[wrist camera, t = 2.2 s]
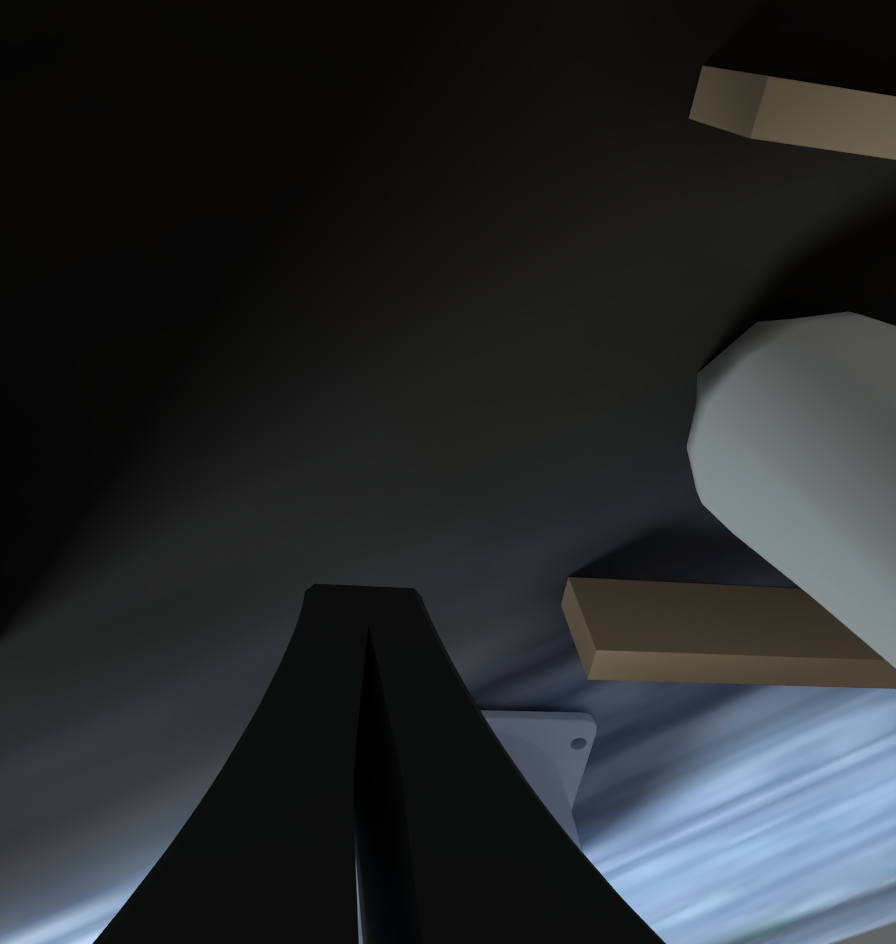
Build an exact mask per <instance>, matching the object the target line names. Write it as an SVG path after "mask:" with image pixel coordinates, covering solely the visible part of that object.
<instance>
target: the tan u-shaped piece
mask: <svg viewBox="0 0 896 944" xmlns="http://www.w3.org/2000/svg"><path fill="white" fill-rule="evenodd" d="M689 119H692V120H695V121H698V122H701V123H704V124H707V125H710V126H714V127H717V128H720V129H723V130H726V131H729V132H732V133H735V134H738V135H742V136H745V137H748V138H752V139H759V140H766V141H772V142H779V143H786V144H793V145H800V146H807V147H813V148H820V149H827V150H834V151H841V152H848V153H854V154H861V155H868V156H875V157H882V158H889V159H896V97H895V96H889V95H883V94H877V93H870V92H864V91H858V90H852V89H846V88H839V87H833V86H827V85H821V84H814V83H808V82H802V81H796V80H789V79H783V78H777V77H771V76H764V75H758V74H752V73H745V72H739V71H733V70H726V69H720V68H714V67H708V66H702V70H701V74H700V77H699V81H698V85H697V89H696V93H695V96H694V100H693V104H692V108H691V112H690V116H689ZM561 606H562V609H563V612H564V615H565V618H566V620H567V623H568V626H569V629H570V632H571V635H572V637H573V640H574V643H575V646H576V649H577V651H578V654H579V657H580V660H581V663H582V666H583V668H584V671H585V674H586V677H587V680H612V681H647V682H682V683H717V684H752V685H786V686H821V687H856V688H891V689H896V668H895V667H893V666H892V665H891V664H890V663H889V662H888V661H886V660H885V659H884V658H883V657H882V656H881V655H879V654H878V653H877V652H876V651H875V650H874V649H872V648H871V647H870V646H869V645H868V644H866V643H865V642H864V641H863V640H862V639H861V638H859V637H858V636H857V635H856V634H855V633H854V632H852V631H851V630H850V629H849V628H848V627H846V626H845V625H844V624H843V623H842V622H841V621H839V620H838V619H837V618H836V617H835V616H834V615H832V614H831V613H830V612H829V611H828V610H827V609H825V608H824V607H823V606H822V605H821V604H819V603H818V602H817V601H816V600H815V599H814V598H812V597H811V596H810V595H809V594H808V593H806V592H805V591H804V590H803V589H799V588H779V587H759V586H739V585H719V584H699V583H679V582H659V581H639V580H619V579H599V578H579V577H568V580H567V584H566V588H565V591H564V595H563V599H562V603H561Z"/></svg>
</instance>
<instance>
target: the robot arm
mask: <svg viewBox="0 0 896 944" xmlns="http://www.w3.org/2000/svg"><path fill="white" fill-rule="evenodd" d="M596 733H597V726H596V723H595V720H594V718H593V716H591V715H590V714H588V713H580V712H535V711H489V710H480V709H479V707H478V706H477V704H476V702H475V701H474V699H473V697H472V696H471V694H470V692H469V691H468V689H467V687H466V686H465V684H464V682H463V680H462V679H461V677H460V675H459V673H458V672H457V670H456V668H455V666H454V664H453V662H452V661H451V659H450V657H449V655H448V653H447V651H446V649H445V647H444V645H443V643H442V641H441V639H440V637H439V635H438V633H437V631H436V629H435V627H434V625H433V623H432V621H431V619H430V616H429V614H428V612H427V610H426V607H425V605H424V602H423V600H422V597H421V596H420V595H419V594H418V592H417V591H416V590H415V589H414V588H394V587H373V586H351V585H329V584H314V585H313V586H312V587H310V588H309V589H307V590H306V591H305V595H304V601H303V606H302V609H301V612H300V616H299V619H298V622H297V625H296V627H295V630H294V633H293V635H292V638H291V640H290V642H289V645H288V647H287V649H286V652H285V654H284V656H283V659H282V661H281V663H280V665H279V667H278V669H277V671H276V673H275V675H274V677H273V679H272V681H271V683H270V685H269V687H268V689H267V691H266V693H265V695H264V697H263V699H262V701H261V703H260V705H259V707H258V709H257V710H256V712H255V714H254V716H253V718H252V719H251V721H250V723H249V724H248V726H247V728H246V729H245V731H244V733H243V734H242V736H241V738H240V740H239V741H238V743H237V745H236V746H235V748H234V750H233V751H232V753H231V755H230V756H229V758H228V760H227V761H226V763H225V765H224V766H223V768H222V770H221V771H220V773H219V774H218V776H217V778H216V779H215V781H214V782H213V784H212V785H211V787H210V788H209V790H208V791H207V793H206V794H205V796H204V797H203V799H202V800H201V802H200V803H199V805H198V806H197V808H196V809H195V811H194V812H193V813H192V815H191V816H190V818H189V819H188V821H187V822H186V823H185V825H184V826H183V828H182V829H181V830H180V832H179V833H178V835H177V836H176V837H175V839H174V840H173V842H172V843H171V844H170V846H169V847H168V849H167V850H166V851H165V853H164V854H163V855H162V857H161V858H160V859H159V860H158V862H157V863H156V864H155V866H154V867H153V868H152V870H151V871H150V872H149V873H148V875H147V876H146V877H145V879H144V880H143V881H142V882H141V884H140V885H139V886H138V888H137V889H136V890H135V892H134V893H133V894H132V895H131V897H130V898H129V899H128V901H127V902H126V903H125V904H124V906H123V907H122V908H121V910H120V911H119V912H118V913H117V914H116V916H115V917H114V918H113V919H112V921H111V922H110V923H109V924H108V926H107V927H106V928H105V929H104V930H103V932H102V933H101V934H100V935H99V936H98V938H97V939H96V940H95V941H94V942H93V944H666V943H665V942H664V941H663V940H662V939H661V938H660V937H659V936H658V935H657V934H656V933H655V932H654V931H653V930H652V929H651V928H650V927H649V926H648V925H647V924H646V923H645V922H644V921H643V920H642V919H641V918H640V916H639V915H638V914H637V913H636V912H635V911H634V910H633V909H632V908H631V907H630V906H629V905H628V904H627V903H626V902H625V901H624V900H623V899H622V898H621V896H620V895H619V894H618V893H617V892H616V891H615V890H614V889H613V887H612V886H611V885H610V884H609V883H608V882H607V880H606V879H605V878H604V877H603V876H602V875H601V873H600V872H599V871H598V870H597V869H596V868H595V867H594V865H593V864H592V863H591V862H590V861H589V860H588V858H587V857H586V856H585V855H584V854H583V852H582V848H581V845H580V841H579V837H578V834H577V830H576V827H575V823H574V819H573V816H572V812H571V810H572V807H573V804H574V801H575V798H576V795H577V792H578V789H579V785H580V782H581V779H582V776H583V773H584V770H585V767H586V764H587V761H588V757H589V754H590V751H591V748H592V745H593V742H594V739H595V736H596ZM576 738H579V739H576ZM574 739H576V740H574Z"/></svg>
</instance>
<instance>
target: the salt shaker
mask: <svg viewBox="0 0 896 944" xmlns="http://www.w3.org/2000/svg"><path fill="white" fill-rule="evenodd" d="M687 451H688V455H689V460H690V464H691V469H692V473H693V478H694V482H695V487H696V491H697V493H698V495H699V498H700V500H701V502H702V504H703V505H704V506H705V507H706V508H707V509H708V510H709V511H710V512H711V513H712V514H713V515H714V516H715V517H717V518H718V519H719V520H720V521H721V522H722V523H723V524H724V525H725V526H726V527H727V528H728V529H729V530H730V531H731V532H732V533H733V534H734V535H736V536H737V537H738V538H739V539H741V540H742V541H743V542H744V543H745V544H747V545H748V546H749V547H750V548H752V549H753V550H754V551H755V552H757V553H758V554H759V555H760V556H762V557H763V558H764V559H765V560H767V561H768V562H769V563H770V564H772V565H773V566H774V567H775V568H777V569H778V570H779V571H780V572H782V573H783V574H784V575H785V576H787V577H788V578H789V579H790V580H792V581H793V582H794V583H795V584H796V585H798V586H799V587H800V588H801V589H803V590H804V591H805V592H806V593H808V594H809V595H810V596H811V597H812V598H814V599H815V600H816V601H817V602H818V603H819V604H821V605H822V606H823V607H824V608H825V609H827V610H828V611H829V612H830V613H831V614H832V615H834V616H835V617H836V618H837V619H838V620H839V621H841V622H842V623H843V624H844V625H845V626H846V627H848V628H849V629H850V630H851V631H852V632H854V633H855V634H856V635H857V636H858V637H859V638H861V639H862V640H863V641H864V642H865V643H866V644H868V645H869V646H870V647H871V648H872V649H874V650H875V651H876V652H877V653H878V654H879V655H881V656H882V657H883V658H884V659H885V660H886V661H888V662H889V663H890V664H891V665H892V666H893V667H895V668H896V326H894V325H891V324H888V323H885V322H882V321H879V320H876V319H872V318H869V317H866V316H863V315H859V314H856V313H852V312H841V313H834V314H826V315H819V316H811V317H803V318H796V319H786V320H774V321H761V322H756V323H755V324H754V325H753V326H752V327H750V328H749V329H748V330H747V331H746V332H745V333H743V334H742V335H741V336H740V337H739V338H738V339H737V340H735V341H734V342H733V343H732V344H731V345H730V346H728V347H727V348H726V349H725V350H724V351H723V352H722V353H720V354H719V355H718V356H717V357H716V358H715V359H713V360H712V361H711V362H710V363H709V364H708V365H707V366H705V367H704V368H703V369H702V370H701V371H700V372H698V373H697V392H696V408H695V412H694V417H693V421H692V426H691V430H690V435H689V439H688V444H687Z"/></svg>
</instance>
